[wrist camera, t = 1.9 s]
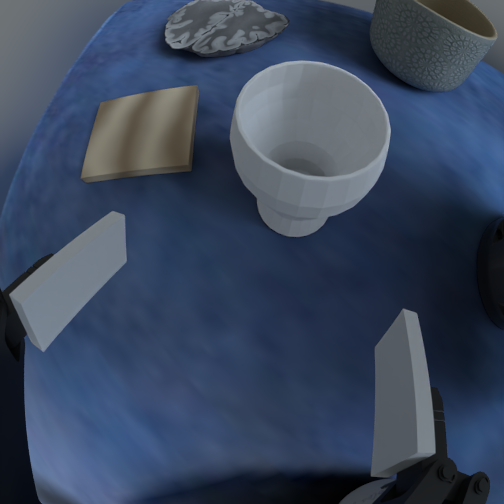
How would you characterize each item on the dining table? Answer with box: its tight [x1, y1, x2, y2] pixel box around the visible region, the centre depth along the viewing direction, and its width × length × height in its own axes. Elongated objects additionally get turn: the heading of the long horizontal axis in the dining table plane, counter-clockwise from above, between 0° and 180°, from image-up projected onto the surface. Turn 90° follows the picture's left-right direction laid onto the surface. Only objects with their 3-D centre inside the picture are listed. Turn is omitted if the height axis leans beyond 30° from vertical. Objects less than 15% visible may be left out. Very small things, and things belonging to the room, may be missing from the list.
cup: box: [230, 61, 391, 237], centre depth 23 cm, size 11×11×15 cm
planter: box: [370, 0, 497, 92], centre depth 27 cm, size 17×17×15 cm
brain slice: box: [164, 0, 289, 57], centre depth 36 cm, size 20×17×3 cm
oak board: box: [81, 85, 199, 183], centre depth 32 cm, size 14×12×2 cm
